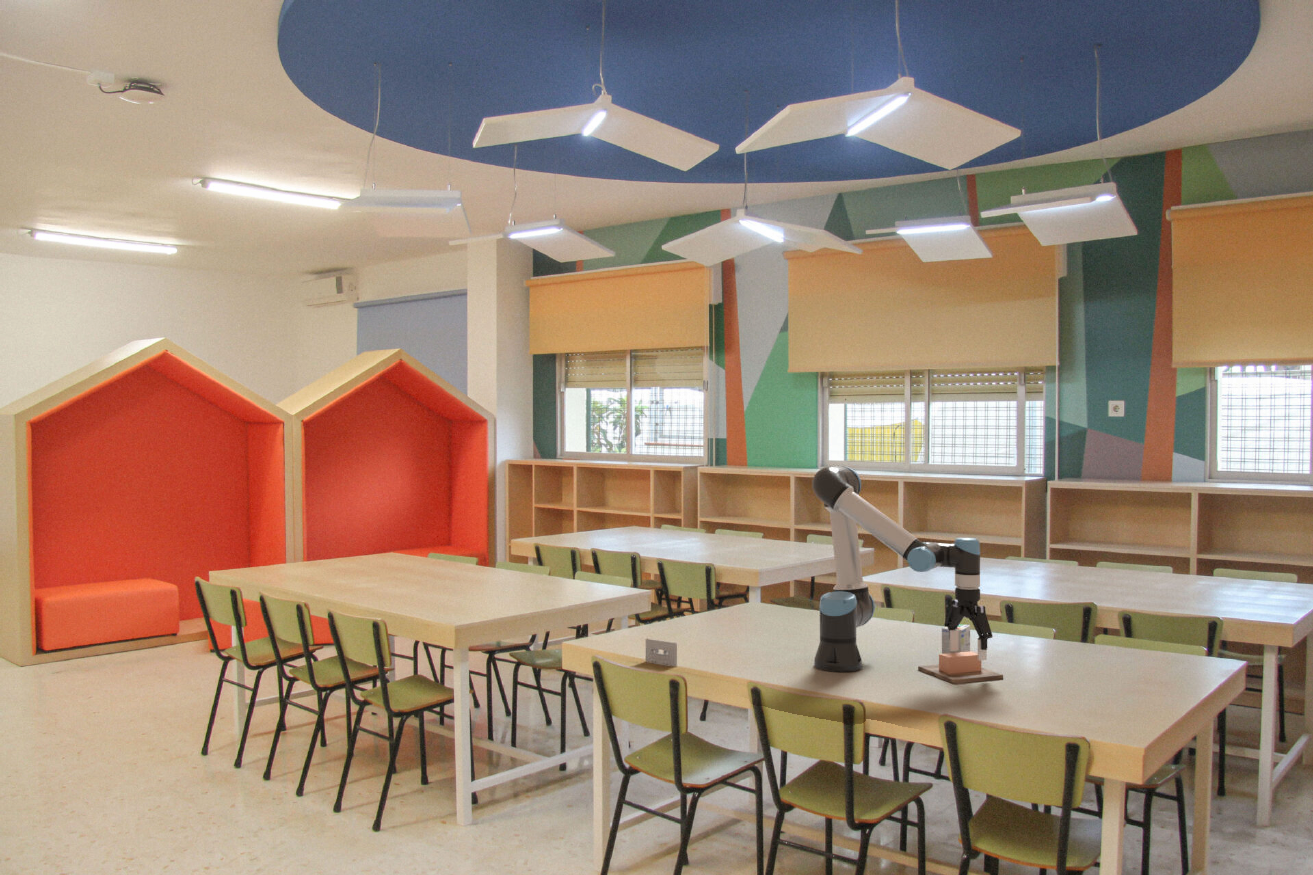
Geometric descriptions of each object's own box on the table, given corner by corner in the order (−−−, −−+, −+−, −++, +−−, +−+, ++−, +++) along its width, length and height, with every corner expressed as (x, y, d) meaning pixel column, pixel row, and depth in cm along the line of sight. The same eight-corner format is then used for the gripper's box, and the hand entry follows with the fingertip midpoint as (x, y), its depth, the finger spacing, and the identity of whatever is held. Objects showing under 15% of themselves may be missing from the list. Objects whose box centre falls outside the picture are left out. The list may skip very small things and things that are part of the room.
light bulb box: (951, 653, 314) (951, 622, 314) (971, 656, 310) (970, 624, 310) (941, 659, 305) (940, 627, 305) (961, 662, 301) (961, 629, 302)
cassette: (644, 662, 302) (644, 638, 302) (647, 661, 303) (647, 637, 303) (674, 667, 295) (674, 643, 295) (677, 666, 296) (677, 642, 296)
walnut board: (918, 669, 291) (918, 666, 291) (965, 665, 297) (965, 661, 297) (953, 683, 274) (953, 679, 274) (1003, 678, 280) (1003, 674, 280)
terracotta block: (971, 666, 290) (939, 669, 286) (970, 651, 290) (939, 653, 286) (981, 670, 285) (949, 673, 281) (981, 654, 285) (949, 657, 281)
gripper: (1004, 592, 276) (1004, 663, 276) (952, 581, 300) (952, 646, 300) (983, 594, 274) (984, 664, 274) (933, 582, 297) (933, 647, 297)
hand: (967, 655), depth 287 cm, fingers open, 13 cm apart
